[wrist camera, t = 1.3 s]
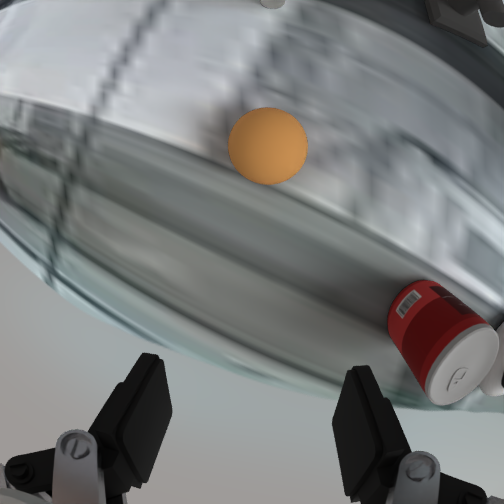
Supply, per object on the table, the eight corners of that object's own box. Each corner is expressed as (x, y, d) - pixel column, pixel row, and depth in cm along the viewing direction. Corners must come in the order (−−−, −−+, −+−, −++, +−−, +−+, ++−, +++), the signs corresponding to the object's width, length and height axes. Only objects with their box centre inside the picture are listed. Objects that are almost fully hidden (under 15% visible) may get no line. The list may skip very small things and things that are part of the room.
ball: (303, 118, 23) (314, 102, 17) (301, 185, 24) (311, 189, 19) (234, 115, 23) (224, 98, 17) (231, 181, 25) (220, 184, 19)
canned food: (379, 346, 28) (416, 414, 18) (390, 279, 26) (444, 336, 16) (435, 337, 28) (480, 393, 17) (448, 274, 26) (510, 320, 15)
